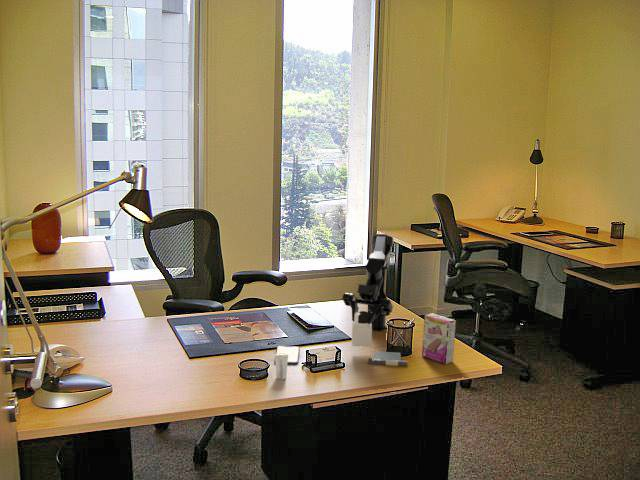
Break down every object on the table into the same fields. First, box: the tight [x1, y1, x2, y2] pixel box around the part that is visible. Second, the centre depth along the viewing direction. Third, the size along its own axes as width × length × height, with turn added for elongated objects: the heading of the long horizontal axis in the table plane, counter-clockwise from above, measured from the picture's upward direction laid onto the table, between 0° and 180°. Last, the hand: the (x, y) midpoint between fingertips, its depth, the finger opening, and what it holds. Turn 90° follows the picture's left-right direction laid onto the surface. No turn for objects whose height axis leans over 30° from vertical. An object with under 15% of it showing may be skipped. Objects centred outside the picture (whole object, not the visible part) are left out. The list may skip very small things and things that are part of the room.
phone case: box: [274, 345, 301, 366], centre depth 261 cm, size 9×2×16 cm
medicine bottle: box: [351, 310, 373, 348], centre depth 263 cm, size 7×7×12 cm
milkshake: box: [272, 351, 288, 381], centre depth 240 cm, size 4×5×10 cm
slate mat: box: [374, 350, 402, 360], centre depth 263 cm, size 10×10×1 cm
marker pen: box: [367, 358, 408, 367], centre depth 256 cm, size 2×14×2 cm, turn 84°
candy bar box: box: [421, 312, 457, 365], centre depth 261 cm, size 11×5×16 cm, turn 44°
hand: (360, 322), depth 261 cm, fingers closed on medicine bottle, 6 cm apart
